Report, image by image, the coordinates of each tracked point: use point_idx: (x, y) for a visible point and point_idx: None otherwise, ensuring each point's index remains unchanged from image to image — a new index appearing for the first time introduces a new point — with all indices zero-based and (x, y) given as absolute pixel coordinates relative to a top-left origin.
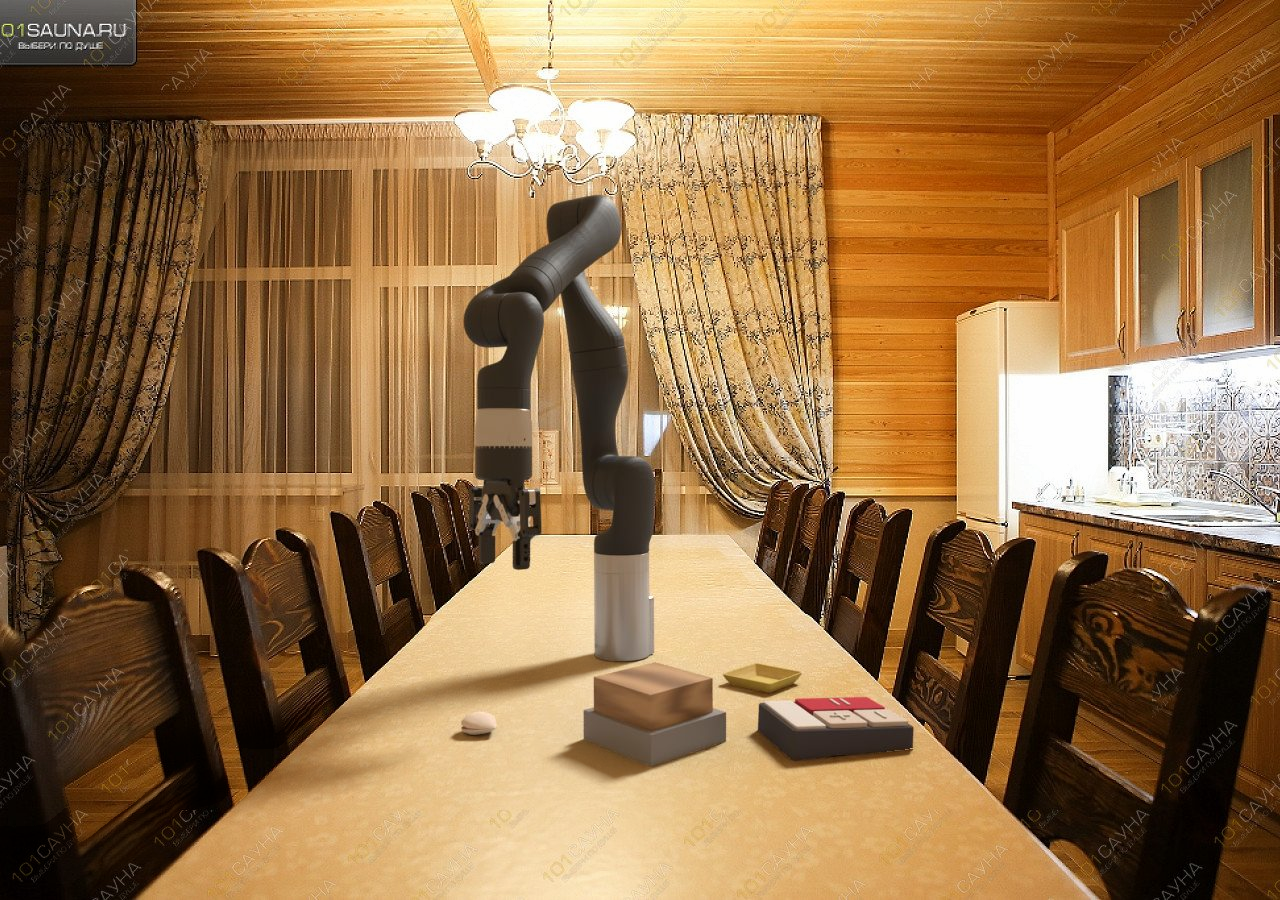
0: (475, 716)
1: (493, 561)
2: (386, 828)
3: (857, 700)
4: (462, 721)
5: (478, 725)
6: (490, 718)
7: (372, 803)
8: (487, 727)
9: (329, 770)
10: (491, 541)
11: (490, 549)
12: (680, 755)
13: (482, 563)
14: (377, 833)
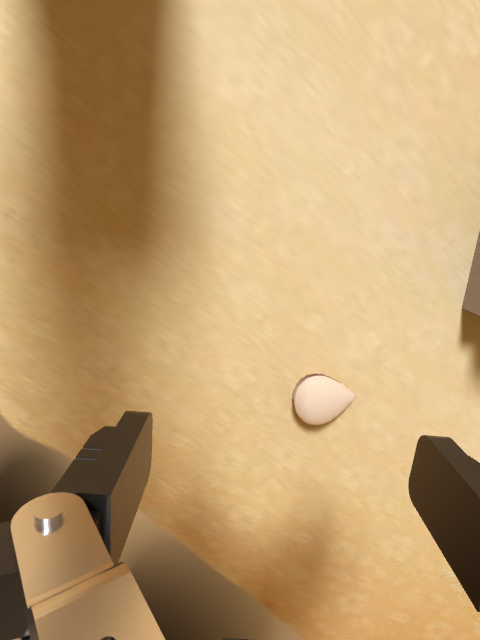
0: (323, 413)
1: (149, 418)
2: None
3: None
4: (310, 424)
5: (338, 414)
6: (338, 395)
7: (406, 576)
8: (348, 405)
9: (290, 567)
10: (120, 494)
11: (133, 469)
12: None
13: (149, 466)
14: (468, 600)
